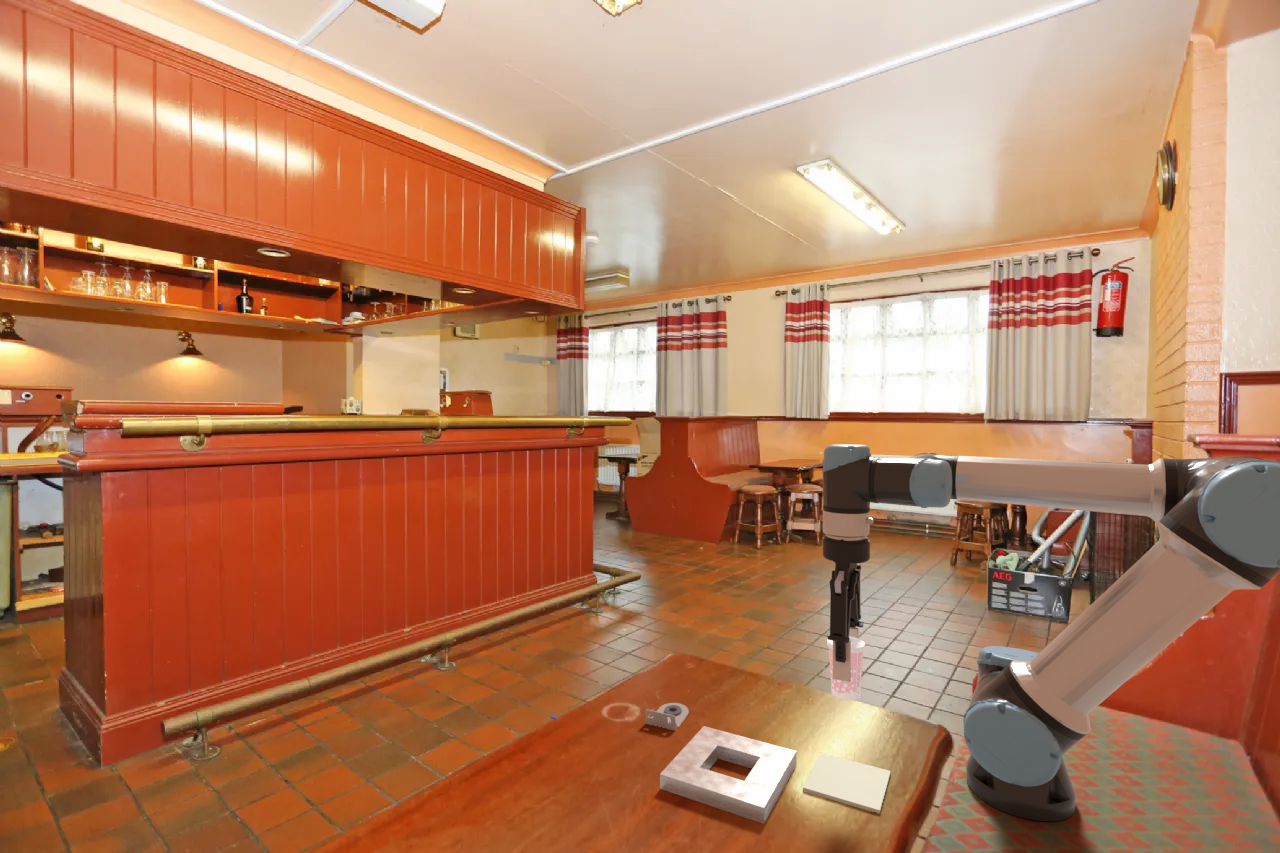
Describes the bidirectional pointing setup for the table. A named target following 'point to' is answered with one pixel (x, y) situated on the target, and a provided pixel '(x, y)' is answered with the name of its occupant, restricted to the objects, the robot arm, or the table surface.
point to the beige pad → (848, 782)
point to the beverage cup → (854, 686)
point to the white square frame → (726, 792)
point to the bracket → (667, 716)
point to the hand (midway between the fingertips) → (845, 671)
